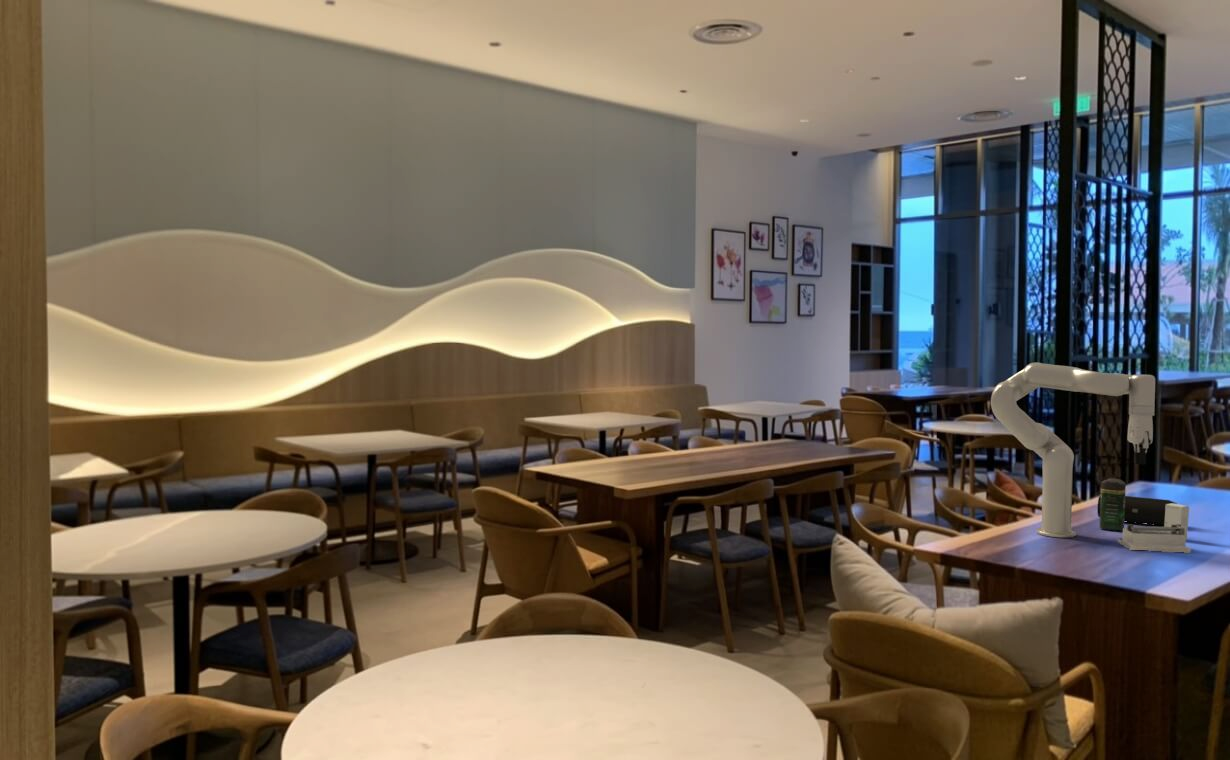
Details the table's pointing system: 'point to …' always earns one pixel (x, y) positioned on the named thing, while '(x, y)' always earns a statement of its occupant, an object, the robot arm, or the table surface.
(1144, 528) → the strap
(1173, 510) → the skincare box
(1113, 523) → the coffee jar
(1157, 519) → the portable speaker
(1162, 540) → the block
